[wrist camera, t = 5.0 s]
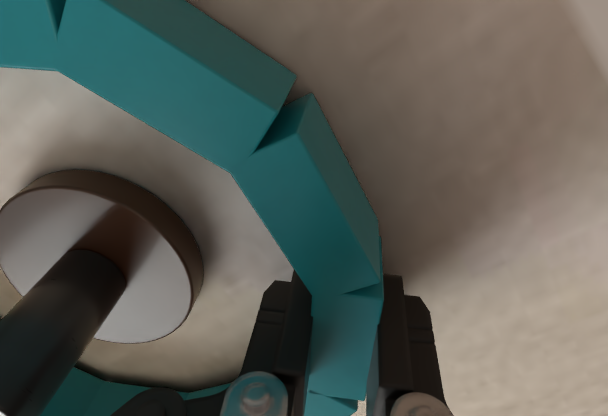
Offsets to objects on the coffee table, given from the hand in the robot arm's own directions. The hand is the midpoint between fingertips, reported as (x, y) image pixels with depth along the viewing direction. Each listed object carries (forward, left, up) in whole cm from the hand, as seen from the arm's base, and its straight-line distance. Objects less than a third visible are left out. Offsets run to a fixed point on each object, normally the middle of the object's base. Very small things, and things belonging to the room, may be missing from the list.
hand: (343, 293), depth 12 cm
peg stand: (+5, -5, -1) cm, 7 cm away
